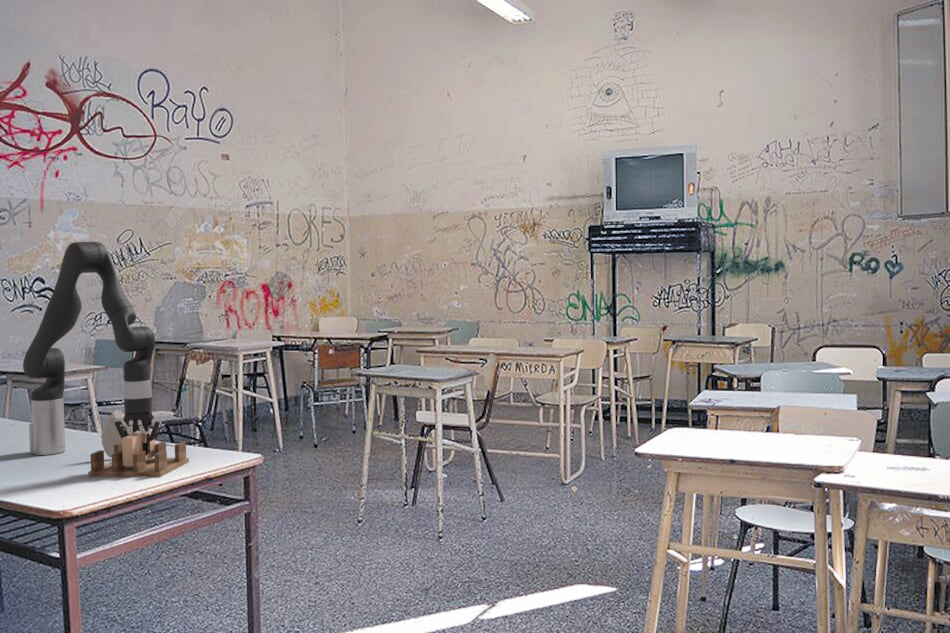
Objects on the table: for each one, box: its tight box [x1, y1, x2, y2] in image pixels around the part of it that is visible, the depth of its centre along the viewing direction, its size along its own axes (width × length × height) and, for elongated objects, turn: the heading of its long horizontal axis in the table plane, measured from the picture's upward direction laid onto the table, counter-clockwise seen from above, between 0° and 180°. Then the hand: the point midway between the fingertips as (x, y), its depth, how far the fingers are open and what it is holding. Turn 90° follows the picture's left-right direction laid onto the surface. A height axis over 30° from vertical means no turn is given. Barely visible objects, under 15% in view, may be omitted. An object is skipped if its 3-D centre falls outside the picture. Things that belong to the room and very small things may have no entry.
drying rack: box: [87, 441, 190, 478], centre depth 250 cm, size 21×19×6 cm
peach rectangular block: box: [122, 428, 156, 466], centre depth 250 cm, size 3×14×8 cm, turn 175°
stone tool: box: [100, 409, 129, 459], centre depth 265 cm, size 9×3×15 cm, turn 123°
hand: (139, 454), depth 250 cm, fingers closed on peach rectangular block, 3 cm apart
